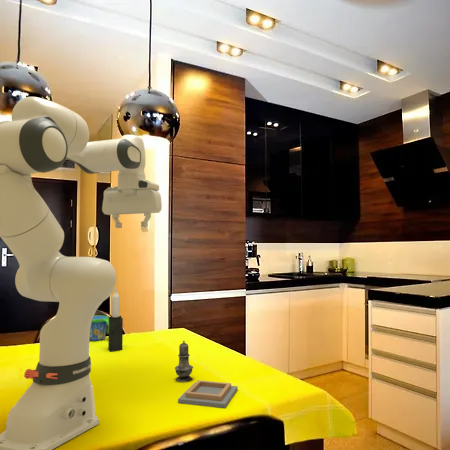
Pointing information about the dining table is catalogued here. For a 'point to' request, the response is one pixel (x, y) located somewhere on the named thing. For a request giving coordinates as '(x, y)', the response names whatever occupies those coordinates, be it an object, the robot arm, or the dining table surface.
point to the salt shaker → (183, 364)
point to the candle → (115, 326)
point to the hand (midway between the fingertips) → (131, 227)
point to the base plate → (209, 394)
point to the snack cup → (99, 327)
